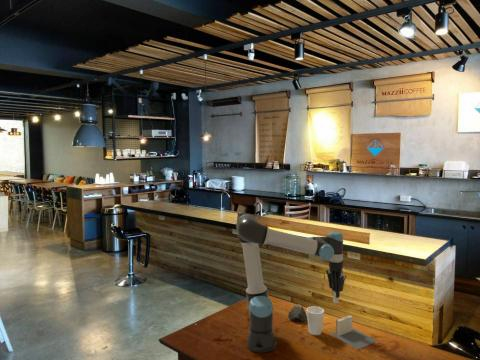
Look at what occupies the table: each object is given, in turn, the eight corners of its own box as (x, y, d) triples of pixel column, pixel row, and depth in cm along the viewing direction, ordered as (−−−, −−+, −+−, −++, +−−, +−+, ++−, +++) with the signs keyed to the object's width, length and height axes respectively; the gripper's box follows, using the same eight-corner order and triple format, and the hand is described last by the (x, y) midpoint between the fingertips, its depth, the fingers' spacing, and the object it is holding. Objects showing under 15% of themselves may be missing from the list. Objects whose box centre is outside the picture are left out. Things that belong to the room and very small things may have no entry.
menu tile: (339, 335, 197) (339, 321, 196) (335, 333, 199) (335, 319, 198) (352, 330, 202) (352, 316, 201) (348, 328, 204) (349, 314, 203)
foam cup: (324, 338, 195) (324, 314, 194) (306, 337, 197) (306, 313, 196) (323, 329, 205) (323, 307, 204) (306, 328, 207) (306, 305, 205)
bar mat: (357, 350, 183) (357, 349, 183) (330, 335, 199) (330, 334, 199) (377, 342, 191) (377, 340, 191) (350, 327, 207) (350, 326, 207)
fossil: (283, 315, 221) (290, 299, 223) (295, 319, 225) (301, 304, 227) (294, 322, 212) (300, 305, 213) (305, 327, 215) (312, 310, 217)
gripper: (349, 262, 199) (350, 304, 201) (332, 256, 210) (332, 296, 212) (339, 264, 195) (340, 308, 197) (322, 258, 206) (322, 300, 208)
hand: (336, 302), depth 205 cm, fingers closed
